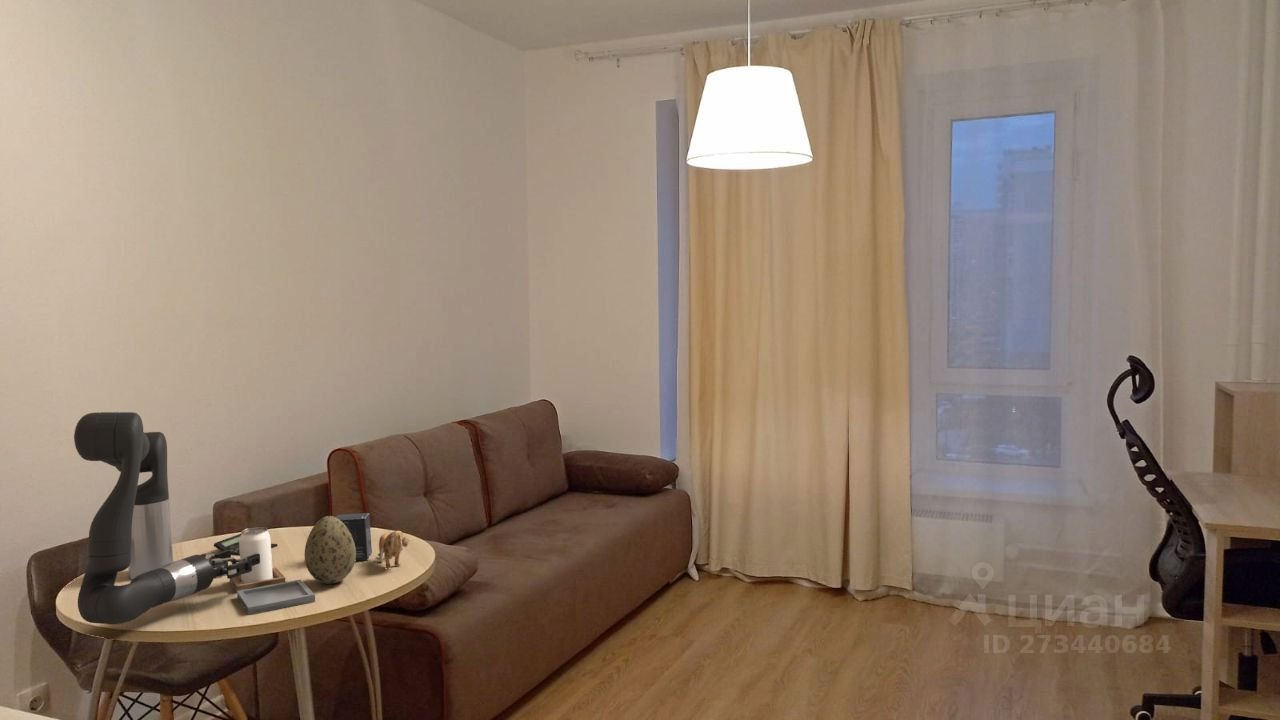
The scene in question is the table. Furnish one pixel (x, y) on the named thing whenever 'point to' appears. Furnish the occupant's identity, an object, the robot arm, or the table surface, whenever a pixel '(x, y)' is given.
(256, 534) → the can
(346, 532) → the decorative egg
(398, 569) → the table surface
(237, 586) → the frame
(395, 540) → the lion figurine
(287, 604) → the tray
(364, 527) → the box
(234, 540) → the calculator
